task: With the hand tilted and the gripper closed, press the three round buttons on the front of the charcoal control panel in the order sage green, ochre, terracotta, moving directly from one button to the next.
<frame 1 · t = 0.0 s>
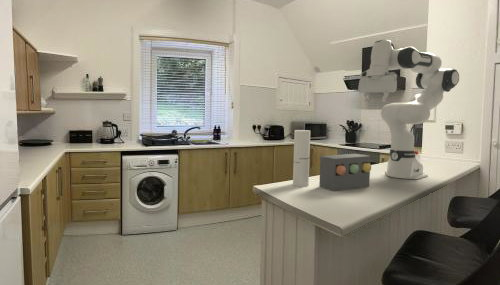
hand: (375, 101, 165), 39 cm above the worktop, tool pointing down, fingers open, 8 cm apart
ochre button: (365, 167, 153), point 9 cm above the worktop, slide at 0.0 cm
cylindrical container: (300, 185, 155), on the worktop
terracotta button: (339, 169, 145), point 9 cm above the worktop, slide at 0.0 cm
control panel: (343, 186, 154), on the worktop
sage green button: (352, 168, 149), point 9 cm above the worktop, slide at 0.0 cm
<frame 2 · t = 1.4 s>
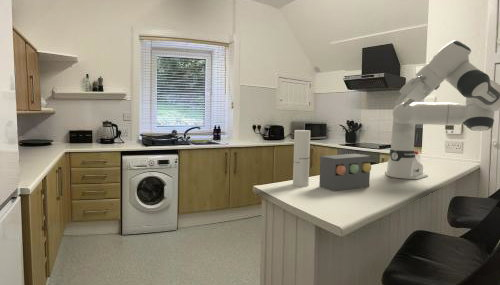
hand: (400, 105, 136), 37 cm above the worktop, tool tilted 40°, fingers open, 8 cm apart
nothing on the worktop moved.
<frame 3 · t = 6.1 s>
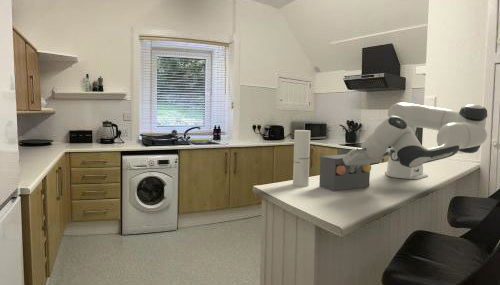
hand: (353, 167, 148), 9 cm above the worktop, tool tilted 45°, fingers closed, pressing on sage green button
sage green button: (349, 167, 150), point 9 cm above the worktop, slide at 1.7 cm, touching gripper
everything else where it was.
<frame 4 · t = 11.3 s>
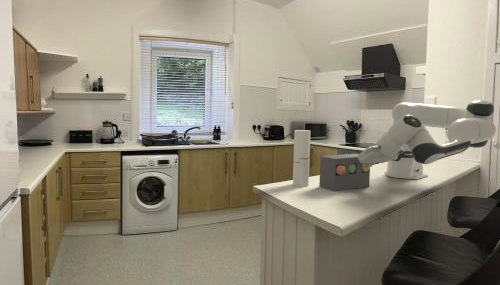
hand: (367, 165, 152), 10 cm above the worktop, tool tilted 45°, fingers closed, pressing on ochre button
ochre button: (363, 166, 154), point 9 cm above the worktop, slide at 0.9 cm, touching gripper
sage green button: (350, 167, 150), point 9 cm above the worktop, slide at 1.7 cm
everything else where it was.
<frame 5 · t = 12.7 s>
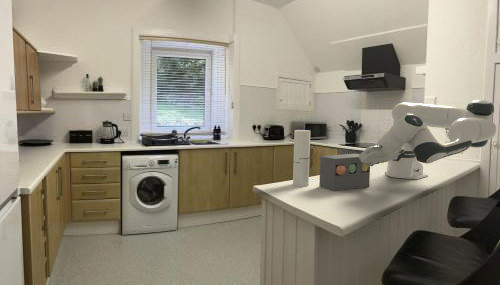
hand: (368, 165, 151), 10 cm above the worktop, tool tilted 45°, fingers closed
ochre button: (362, 166, 154), point 9 cm above the worktop, slide at 1.7 cm
everything else where it was.
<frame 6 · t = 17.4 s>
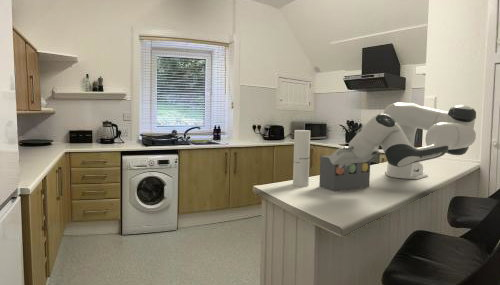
hand: (341, 167, 144), 10 cm above the worktop, tool tilted 45°, fingers closed, pressing on terracotta button
terracotta button: (338, 169, 146), point 9 cm above the worktop, slide at 0.9 cm, touching gripper
everything else where it was.
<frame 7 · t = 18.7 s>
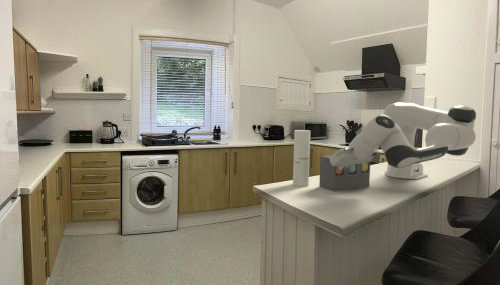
hand: (341, 168, 144), 10 cm above the worktop, tool tilted 45°, fingers closed
terracotta button: (336, 169, 146), point 9 cm above the worktop, slide at 1.7 cm
everything else where it was.
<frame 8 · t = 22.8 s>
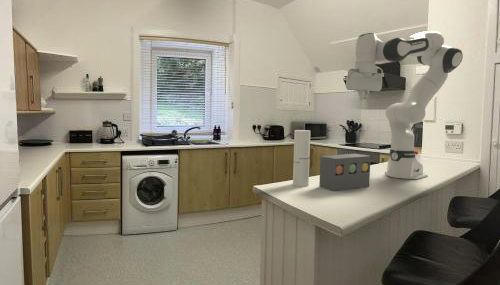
hand: (363, 100, 155), 39 cm above the worktop, tool pointing down, fingers closed
nothing on the worktop moved.
at the end: sage green button slide at 1.7 cm; ochre button slide at 1.7 cm; terracotta button slide at 1.7 cm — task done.
